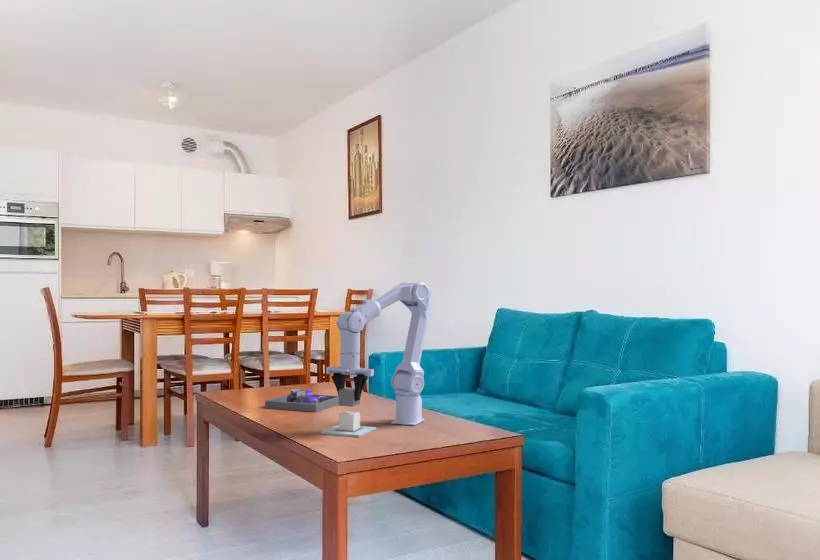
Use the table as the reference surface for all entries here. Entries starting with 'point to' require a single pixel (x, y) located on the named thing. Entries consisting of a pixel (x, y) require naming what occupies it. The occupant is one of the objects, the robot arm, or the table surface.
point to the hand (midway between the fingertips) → (349, 399)
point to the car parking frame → (301, 404)
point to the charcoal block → (347, 397)
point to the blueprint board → (356, 433)
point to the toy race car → (305, 397)
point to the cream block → (349, 421)
